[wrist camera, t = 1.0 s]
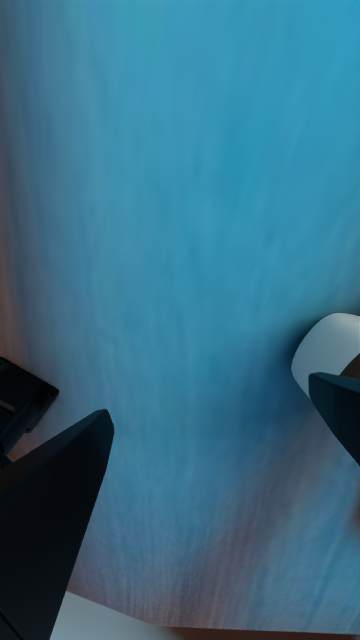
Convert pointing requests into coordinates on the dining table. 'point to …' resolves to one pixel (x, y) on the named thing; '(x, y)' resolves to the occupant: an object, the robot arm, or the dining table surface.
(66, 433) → the robot arm
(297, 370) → the spread jar
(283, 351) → the dining table surface
